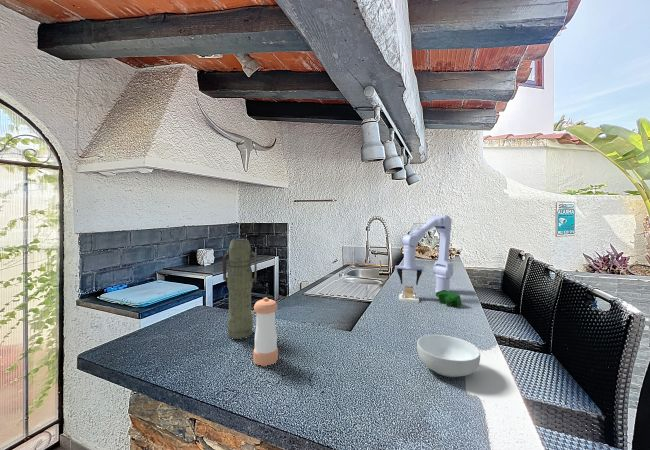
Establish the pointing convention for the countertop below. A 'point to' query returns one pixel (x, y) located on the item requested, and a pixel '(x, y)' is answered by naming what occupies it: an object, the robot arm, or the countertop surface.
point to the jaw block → (408, 292)
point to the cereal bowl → (448, 355)
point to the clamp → (449, 298)
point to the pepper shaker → (265, 333)
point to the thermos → (239, 288)
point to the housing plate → (414, 299)
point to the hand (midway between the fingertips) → (409, 284)
